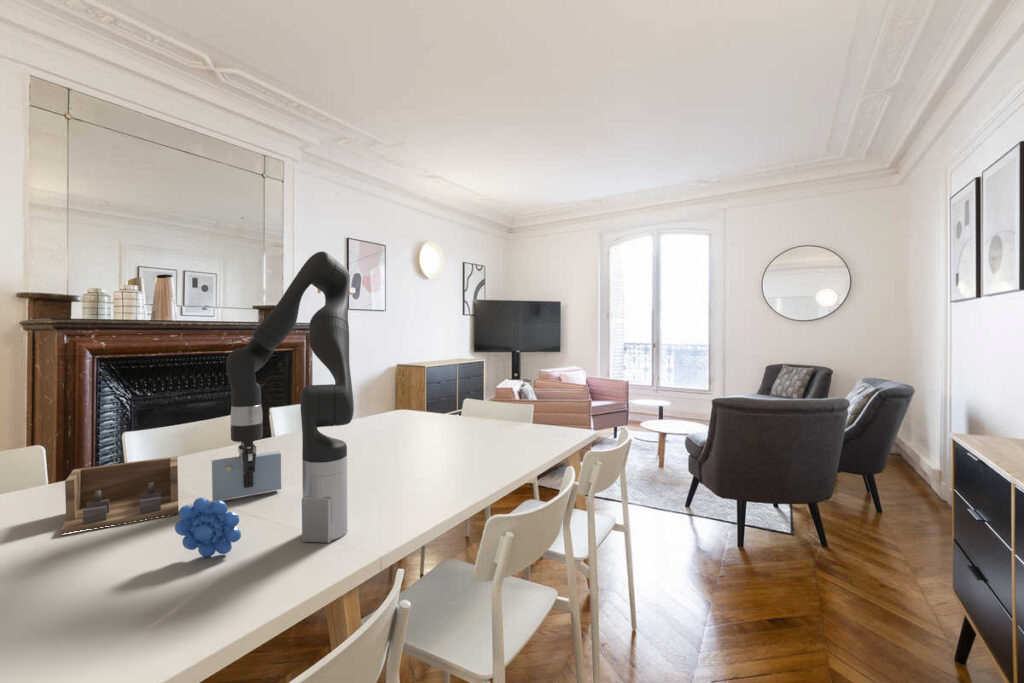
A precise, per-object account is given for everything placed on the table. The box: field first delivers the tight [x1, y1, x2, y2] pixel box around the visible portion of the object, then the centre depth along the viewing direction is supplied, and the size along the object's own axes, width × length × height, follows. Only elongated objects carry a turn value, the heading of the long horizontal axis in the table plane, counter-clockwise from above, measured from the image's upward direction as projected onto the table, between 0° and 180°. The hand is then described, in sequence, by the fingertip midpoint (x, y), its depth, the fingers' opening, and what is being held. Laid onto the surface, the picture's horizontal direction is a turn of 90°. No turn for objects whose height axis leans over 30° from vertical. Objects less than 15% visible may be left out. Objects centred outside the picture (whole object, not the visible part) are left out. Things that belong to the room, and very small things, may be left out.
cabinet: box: [60, 456, 179, 535], centre depth 116 cm, size 17×21×10 cm
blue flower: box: [174, 497, 242, 558], centre depth 94 cm, size 12×7×12 cm, turn 104°
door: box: [211, 450, 282, 502], centre depth 127 cm, size 4×16×10 cm, turn 126°
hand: (247, 485), depth 128 cm, fingers closed on door, 3 cm apart
